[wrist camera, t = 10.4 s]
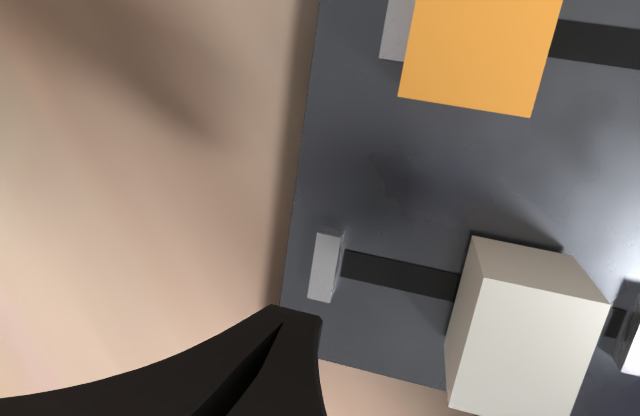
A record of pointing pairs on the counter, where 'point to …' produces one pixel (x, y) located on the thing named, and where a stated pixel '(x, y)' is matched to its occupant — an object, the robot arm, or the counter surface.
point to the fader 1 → (479, 53)
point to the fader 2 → (520, 331)
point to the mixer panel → (464, 192)
